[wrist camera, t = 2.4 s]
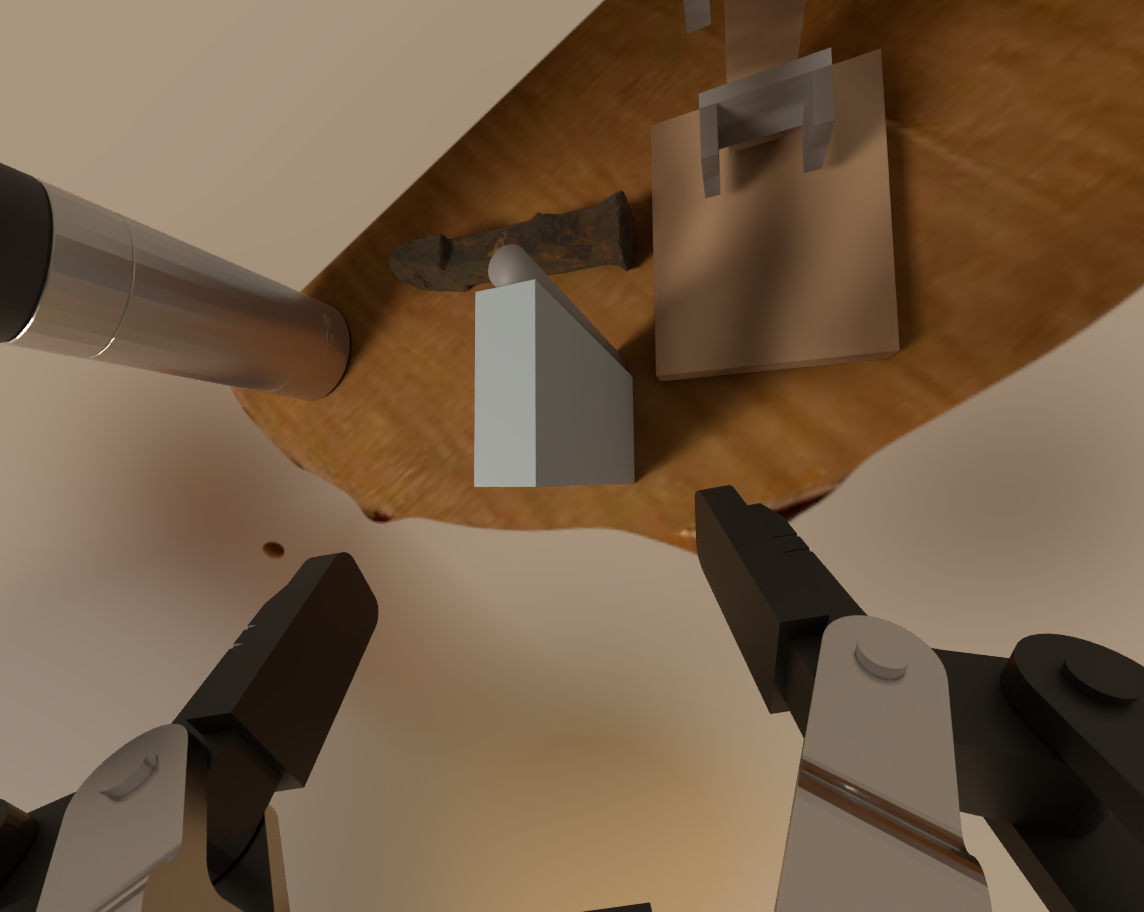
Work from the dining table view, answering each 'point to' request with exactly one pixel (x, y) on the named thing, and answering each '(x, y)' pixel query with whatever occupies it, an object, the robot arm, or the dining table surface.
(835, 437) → the dining table surface
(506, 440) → the cabinet door
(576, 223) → the hand tool
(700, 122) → the hinge frame
